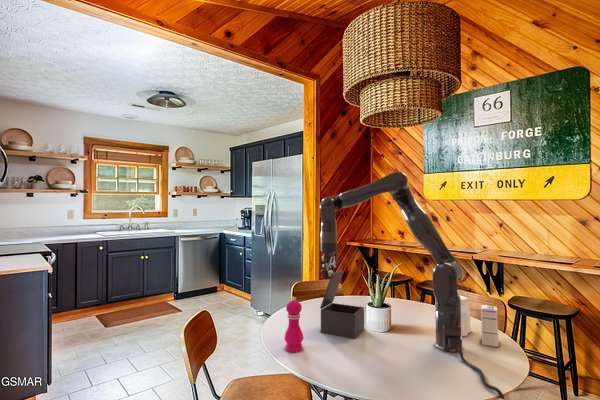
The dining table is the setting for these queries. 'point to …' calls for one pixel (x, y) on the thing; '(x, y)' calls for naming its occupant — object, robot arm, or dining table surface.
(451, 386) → the dining table surface
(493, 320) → the syrup box
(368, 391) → the dining table surface
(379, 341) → the dining table surface
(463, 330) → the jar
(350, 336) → the dark lidded box
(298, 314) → the pepper mill
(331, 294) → the lid
